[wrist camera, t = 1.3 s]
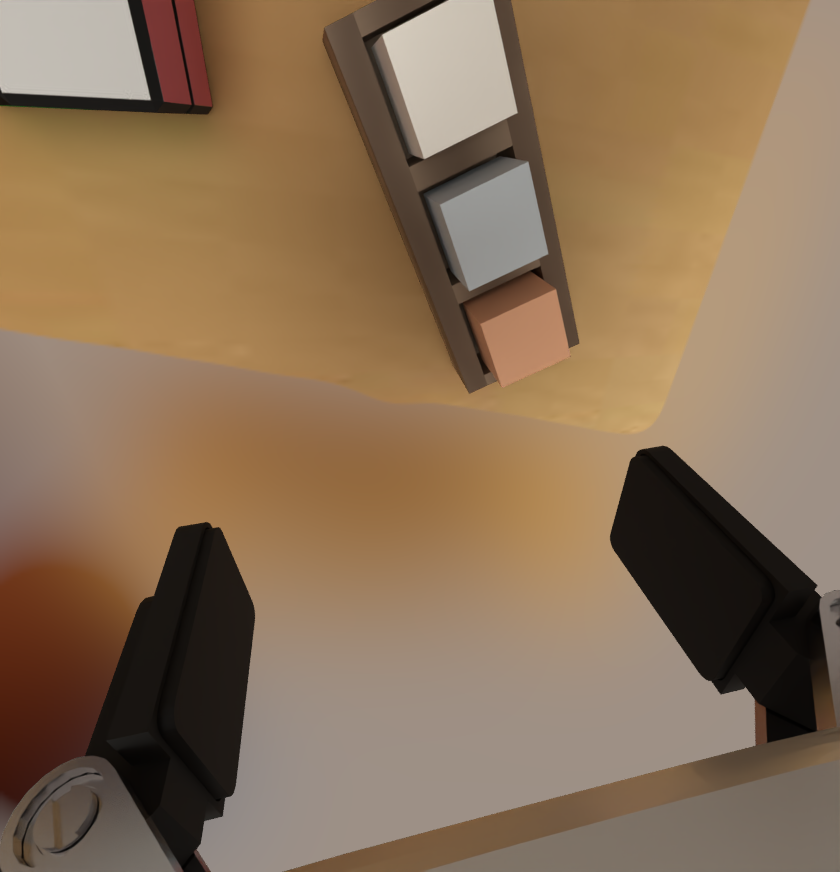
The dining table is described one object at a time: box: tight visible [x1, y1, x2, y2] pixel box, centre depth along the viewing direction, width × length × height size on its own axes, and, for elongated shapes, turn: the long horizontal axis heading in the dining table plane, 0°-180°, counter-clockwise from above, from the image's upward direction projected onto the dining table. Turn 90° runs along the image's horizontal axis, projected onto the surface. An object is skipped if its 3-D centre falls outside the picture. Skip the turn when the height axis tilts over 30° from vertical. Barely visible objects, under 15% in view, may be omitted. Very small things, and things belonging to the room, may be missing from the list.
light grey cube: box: [424, 156, 548, 291], centre depth 24 cm, size 4×4×4 cm
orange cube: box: [462, 271, 571, 388], centre depth 28 cm, size 4×4×4 cm
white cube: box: [371, 0, 518, 159], centre depth 21 cm, size 4×4×4 cm
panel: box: [323, 0, 579, 393], centre depth 27 cm, size 8×20×4 cm, turn 22°
